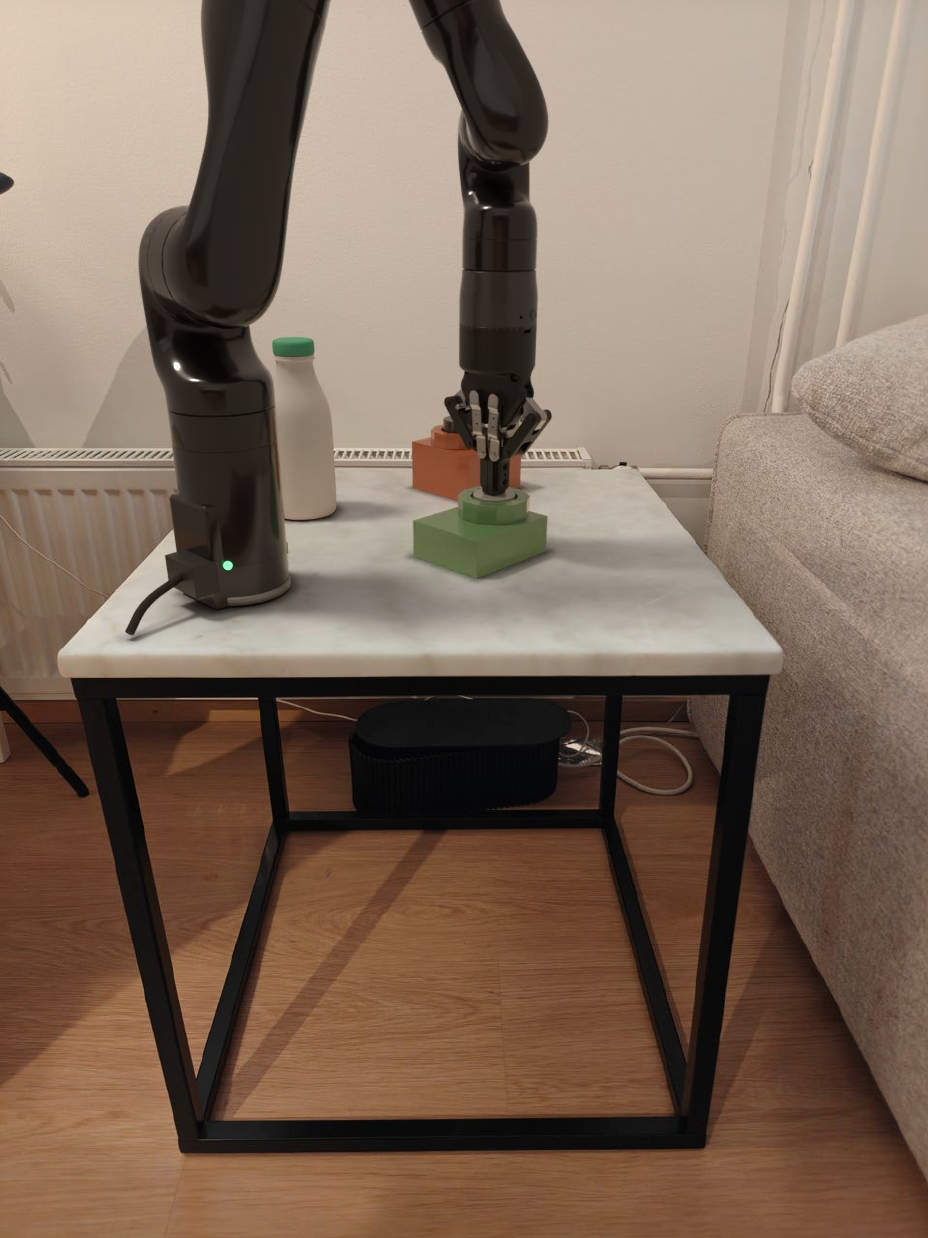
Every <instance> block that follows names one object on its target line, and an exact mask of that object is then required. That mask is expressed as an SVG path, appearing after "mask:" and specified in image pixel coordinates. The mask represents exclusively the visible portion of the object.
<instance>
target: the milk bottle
mask: <svg viewBox="0 0 928 1238" xmlns="http://www.w3.org/2000/svg"><path fill="white" fill-rule="evenodd" d="M271 346H272V347H271V348H272V354H273V358H272V359H273V361H275V372H274V378H273V382H274V391H275V405H276V418H277V430H278V444H279V456H280V469H281V481H282V493H283V505H284V518H285V519H287V520H294V521H295V520H297V521H302V520H316V519H322V518H324V517H328V516H330V515H332V514H334V512H335V511H336V509H337V485H336V484H337V483H336V466H335V463H336V462H335V448H334V432H333V420H332V414H331V408H330V404H329V401H328V398H327V396H326V394H325V392H324V390H323V388H322V386H321V384H320V381H319V379H318V377H317V374H316V371H315V368H314V367H315V366H314V360H315V359H316V357H315V341H314V339H312V338H310V337H303V336H286V337H277V338H275V339H272V343H271Z"/></svg>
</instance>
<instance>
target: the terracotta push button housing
mask: <svg viewBox="0 0 928 1238" xmlns="http://www.w3.org/2000/svg"><path fill="white" fill-rule="evenodd" d="M471 433H472V435H473V436H474V434H473V432H471ZM488 439H489V437H488ZM502 444H503V441H502ZM411 465H412V467H411V468H412V470H411V472H412V473H411V474H412V489H415V490H418V491H422V492H425V493H428V494H432V495H435V496H439V497H443V498H446V499H450V500H453V501H455V502H458V495H459V494H460V493H461V492H462V491H463V490H467V489H470V488H473V487H481V484H480V457H479V456H478V454H477V452H476V451H474V450H473V449H467V448H466V447H465V445H464V443H463V441H462V439H461V437H460V435H459V433H448V432H443V424H439V425H435V426H433V427H432V428H431V429H430V437H425V438H422V439H416V440H412V441H411ZM521 472H522V455H517V456H514V457H512V458H511V459H510V471H509V486H508V487H511V488H515V489H520V488H521V475H522V473H521Z"/></svg>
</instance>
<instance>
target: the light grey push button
mask: <svg viewBox="0 0 928 1238" xmlns="http://www.w3.org/2000/svg"><path fill="white" fill-rule="evenodd" d="M473 499H474V500H478V501H481V502H490V503H501V502H509V501H512V500H515V493H514V492H512V491H510V490H507V489H506V491H505V493H503V494H500V495H496V496H493V495H489V494H485V493H483V491H482V489H480V490H477V491H475V492H474V493H473Z"/></svg>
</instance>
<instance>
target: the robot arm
mask: <svg viewBox="0 0 928 1238" xmlns="http://www.w3.org/2000/svg"><path fill="white" fill-rule="evenodd" d="M331 2H332V0H201V6H200V34H201V35H200V37H201V47H202V58H203V66H204V73H205V81H206V83H205V84H206V92H207V93H206V94H207V126H206V133H205V134H206V135H205V140H204V146H203V151H202V155H201V159H200V163H199V168H198V172H197V176H196V181H195V185H194V187H193V191H192V195H191V197H190V201H189V204H185V205H178V206H177V205H176V206H173V207H169V208H167V209H165V210H162V211H161V212H159V213H158V214H156V215H155V216H154V217H153V218H152V219H151V220H150V221H149V222H148V224H147V225H146V227H145V229H144V231H143V233H142V236H141V239H140V242H139V248H138V256H137V257H138V263H137V265H138V278H139V287H140V294H141V300H142V307H143V312H144V313H143V314H144V318H145V324H146V330H147V336H148V341H149V347H150V348H149V349H150V353H151V358H152V363H153V366H154V369H155V370H154V371H155V372H156V375H157V377H158V379H159V381H160V384H161V385H162V388H163V391H164V396H165V402H166V403H165V404H166V409H167V417H168V418H167V419H168V427H169V433H170V441H171V449H172V450H171V451H172V456H173V457H172V458H173V464H174V472H175V479H176V487H177V488H176V489H177V492H175V493H172V494H170V496H169V498H168V499H169V506H170V513H171V515H170V516H171V520H172V521H171V522H172V529H173V536H174V543H175V552H171V553H167V554H164V560H165V567H166V574H167V581H165V582H164V583H163V584H161V585H160V586H158V587H157V588H155V589H154V590H153V591H152V592H150V593H149V594H148V595H147V596H146V597H145V598H144V599H143V600H142V601H141V602H140V603H139V605H138V606H137V607H136V609H135V611H133V612H134V613H132V616H131V618H130V620H129V623H128V624H127V627H126V628H125V631H124V632H125V633H126V634H127V635H129V636H135V634H136V632H137V630H138V627H139V625H140V623H141V621H142V619H143V617H144V615H145V614H146V612H147V611H148V610H149V608H151V606H152V605H154V603H155V602H156V601H158V599H160V598H161V597H162V596H164V595H165V594H166V593H168V592H169V591H171V590H173V588H174V589H176V590H178V591H180V592H181V593H183V594H185V595H187V596H189V597H191V598H193V599H194V600H197V601H199V602H201V603H203V604H205V605H207V606H209V607H210V608H212V609H215V610H221V609H223V608H228V607H237V606H238V607H239V606H247V605H254V604H255V605H256V604H260V603H264V602H268V601H270V600H274V599H275V598H278V597H279V596H281V595H283V594H285V593H286V592H287V591H288V590H289V589H290V588H291V585H292V580H291V579H292V578H291V573H290V568H289V555H288V554H289V546H288V545H289V544H288V541H287V532H286V531H287V530H286V520H285V519H286V518H284V505H283V493H282V481H281V469H280V456H279V444H278V430H277V418H276V405H275V391H274V382H273V381H274V378H273V376H272V373H271V371H270V370H269V369H268V368H267V366H266V365H265V363H264V362H263V361H262V360H261V358H260V356H259V355H258V352H257V350H256V348H255V346H254V342H253V338H252V334H251V327H250V326H251V325H252V324H254V323H256V322H257V321H258V320H260V319H261V318H262V317H263V316H264V314H266V312H268V310H269V309H270V307H271V305H272V303H273V302H274V300H275V298H276V296H277V292H278V289H279V286H280V282H281V278H282V271H283V266H284V257H285V250H286V242H287V241H286V240H287V233H288V231H287V230H288V224H289V223H288V222H289V214H290V204H291V195H292V187H293V179H294V171H295V167H296V160H297V154H298V150H299V144H300V140H301V136H302V132H303V128H304V124H305V119H306V114H307V110H308V105H309V99H310V95H311V90H312V85H313V81H314V75H315V70H316V66H317V62H318V57H319V55H320V54H319V53H320V50H321V46H322V42H323V39H324V35H325V30H326V26H327V20H328V16H329V11H330V8H331ZM407 2H408V3H409V6H410V9H411V12H412V14H413V16H414V19H415V20H416V23H417V25H418V28H419V30H420V31H421V32H420V33H421V36H422V38H423V41H424V42H425V45H426V47H427V49H428V50H429V52H430V54H431V55H432V57H433V59H434V60H435V61H436V62H437V63H438V64H440V65H441V66H442V67H443V68H444V71H445V72H446V75H447V78H448V79H449V82H450V85H451V86H452V89H453V91H454V94H455V96H456V98H457V101H458V103H459V105H460V108H461V109H460V113H459V117H458V122H457V123H458V124H457V161H458V162H457V163H458V173H459V183H460V192H461V199H462V200H461V201H462V208H463V209H462V210H463V212H462V213H463V216H462V217H463V219H462V233H461V234H462V235H461V236H462V239H461V242H462V243H461V268H462V269H461V280H460V285H459V300H458V304H459V305H458V313H459V315H458V324H459V325H458V336H459V337H458V366H459V368H460V369H461V370H462V371H463V375H462V379H461V381H460V389H459V390H458V391H456V393H455V394H453V395H450V396H446V397H445V398H444V399H443V404H444V406H445V409H446V411H447V413H448V416H450V417H451V419H452V421H453V423H454V425H455V427H456V429H457V431H458V433H459V435H460V437H461V439H462V441H463V443H464V445H465V447H466V448H467V449H473V450H474V451H476V452H477V454H478V456H479V457H480V484H481V487H482V491H483V493H485V494H489V495H493V496H496V495H500V494H503V493H505V491H506V489H508V486H509V471H510V459H511V458H512V457H514V456H517V455H521V456H522V455H525V454H526V453H527V452H528V451H529V450H530V448H531V447H532V445H533V444H534V443H535V441H536V440H537V439H538V438H539V436H540V435H541V433H542V432H543V431H544V430H545V428H546V427H547V426H548V424H549V423H550V421H551V420H552V419H553V414H552V412H551V410H550V409H547V408H545V409H542V407H541V406H540V405H539V404H538V402H537V401H536V400H535V399H534V397H535V389H534V386H533V383H532V373H533V371H534V369H535V368H536V359H537V358H536V357H537V356H536V354H537V334H538V333H537V330H538V329H537V328H538V307H539V306H538V305H539V298H538V297H539V292H538V281H537V279H538V278H537V265H538V264H537V262H538V260H537V259H538V218H537V213H536V209H535V207H534V206H533V204H532V202H531V196H530V195H531V194H530V192H531V191H530V190H531V189H530V188H531V187H530V186H531V185H530V184H531V182H530V181H531V180H530V178H531V177H530V176H531V175H530V174H531V173H530V171H531V170H530V166H531V165H530V163H531V161H532V160H533V159H535V158H536V156H537V155H538V154H539V153H540V152H541V150H542V149H543V146H544V144H545V142H546V140H547V137H548V133H549V120H550V119H549V110H548V104H547V101H546V98H545V95H544V92H543V89H542V86H541V83H540V81H539V78H538V76H537V74H536V72H535V70H534V68H533V66H532V63H531V61H530V60H529V58H528V56H527V54H526V51H525V50H524V48H523V46H522V44H521V42H520V40H519V38H518V36H517V35H516V33H515V31H514V30H513V28H512V26H511V24H510V23H509V21H508V19H507V17H506V15H505V12H504V10H503V6H502V4H501V0H407ZM469 428H470V429H471V430H472V432H473V434H474V436H473V435H472V433H471V431H470V429H469ZM488 437H489V439H488ZM502 441H503V444H502Z"/></svg>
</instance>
